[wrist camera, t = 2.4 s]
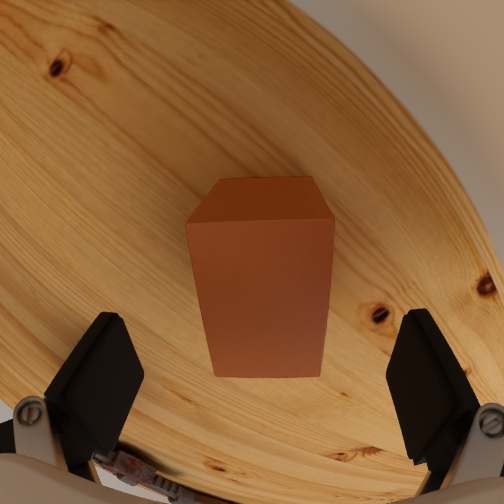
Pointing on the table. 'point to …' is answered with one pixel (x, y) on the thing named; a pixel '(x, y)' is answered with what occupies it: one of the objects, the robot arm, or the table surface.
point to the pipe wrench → (149, 478)
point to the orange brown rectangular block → (263, 275)
